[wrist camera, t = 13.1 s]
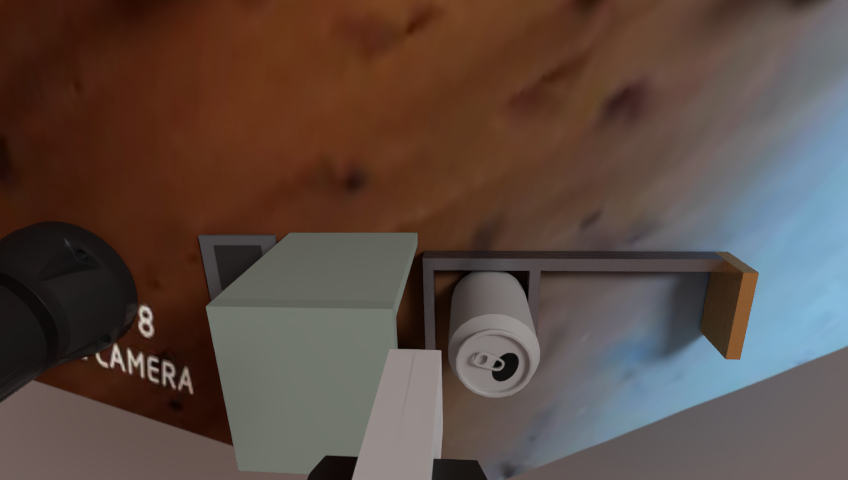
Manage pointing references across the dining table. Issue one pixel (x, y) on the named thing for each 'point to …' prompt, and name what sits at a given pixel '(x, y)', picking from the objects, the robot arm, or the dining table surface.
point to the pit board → (231, 257)
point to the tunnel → (308, 345)
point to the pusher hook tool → (724, 293)
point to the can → (492, 334)
